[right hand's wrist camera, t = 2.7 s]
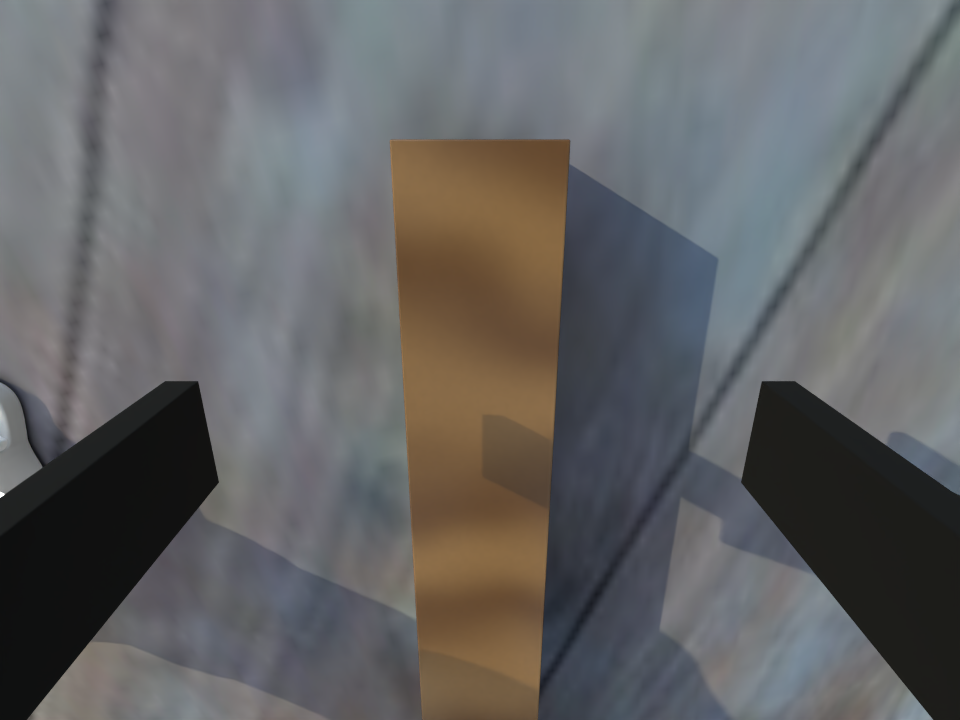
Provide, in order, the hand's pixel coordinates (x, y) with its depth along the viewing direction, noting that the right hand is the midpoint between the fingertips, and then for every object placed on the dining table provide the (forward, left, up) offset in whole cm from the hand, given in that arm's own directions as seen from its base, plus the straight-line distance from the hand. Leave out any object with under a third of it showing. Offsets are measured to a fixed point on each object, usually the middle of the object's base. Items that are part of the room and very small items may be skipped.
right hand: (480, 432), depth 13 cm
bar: (+2, +20, -14) cm, 25 cm away
